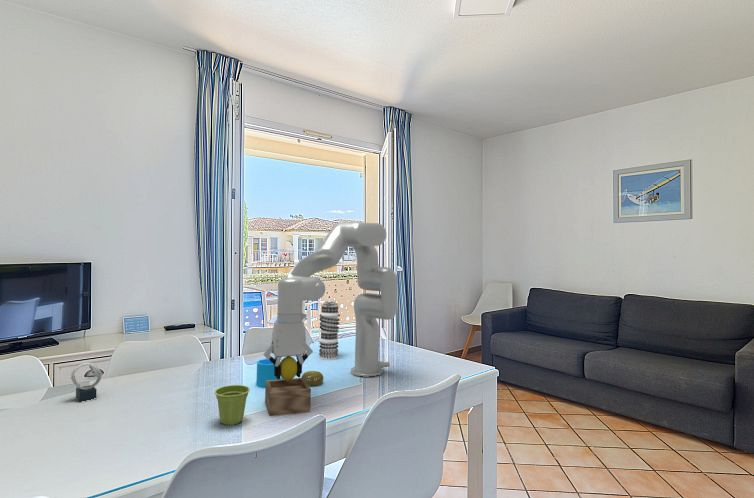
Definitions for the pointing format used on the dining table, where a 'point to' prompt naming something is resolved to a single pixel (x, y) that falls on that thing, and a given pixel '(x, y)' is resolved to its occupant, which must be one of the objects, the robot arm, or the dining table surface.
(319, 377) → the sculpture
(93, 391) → the watch
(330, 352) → the decorative candle
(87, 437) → the dining table surface
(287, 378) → the lemon
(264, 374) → the mug
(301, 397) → the walnut box
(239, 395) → the plant pot
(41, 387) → the dining table surface
